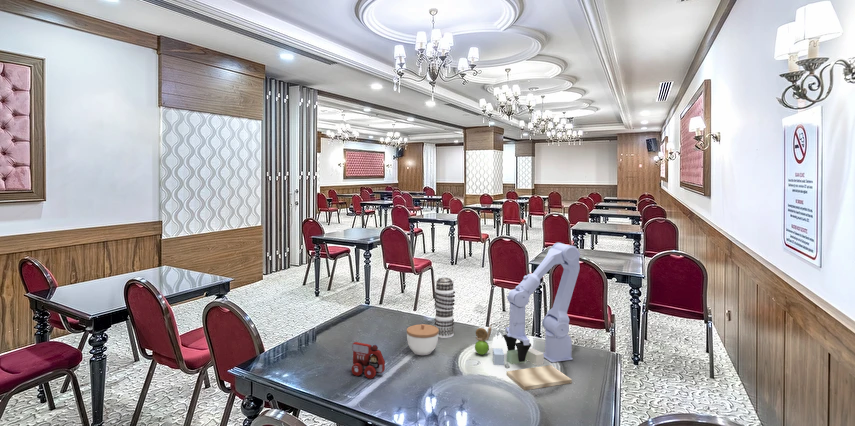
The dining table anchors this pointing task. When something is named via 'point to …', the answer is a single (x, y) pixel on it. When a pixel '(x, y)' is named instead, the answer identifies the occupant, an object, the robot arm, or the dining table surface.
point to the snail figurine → (482, 340)
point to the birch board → (538, 377)
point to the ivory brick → (535, 357)
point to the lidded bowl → (422, 338)
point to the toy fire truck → (367, 360)
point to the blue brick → (498, 356)
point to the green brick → (513, 357)
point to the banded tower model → (444, 307)
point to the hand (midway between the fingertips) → (516, 357)
